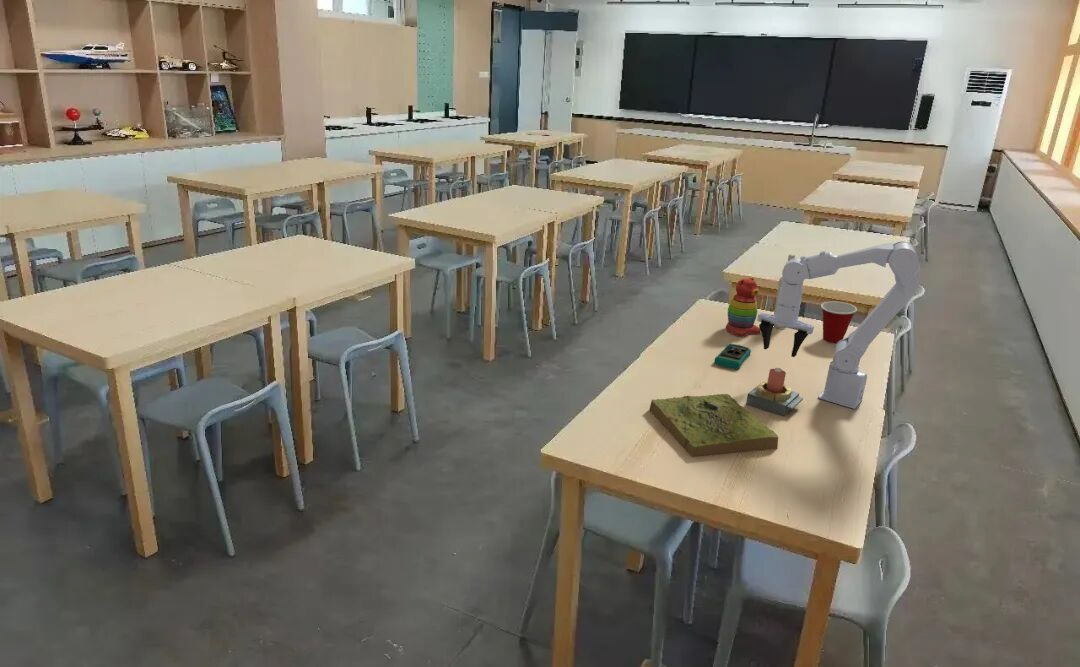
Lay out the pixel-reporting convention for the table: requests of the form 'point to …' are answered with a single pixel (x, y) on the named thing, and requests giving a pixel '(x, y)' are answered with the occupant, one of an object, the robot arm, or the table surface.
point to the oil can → (776, 380)
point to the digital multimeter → (732, 356)
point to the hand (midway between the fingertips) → (779, 352)
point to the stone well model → (773, 399)
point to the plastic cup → (836, 320)
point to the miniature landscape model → (713, 425)
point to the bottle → (791, 256)
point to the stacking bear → (743, 309)
